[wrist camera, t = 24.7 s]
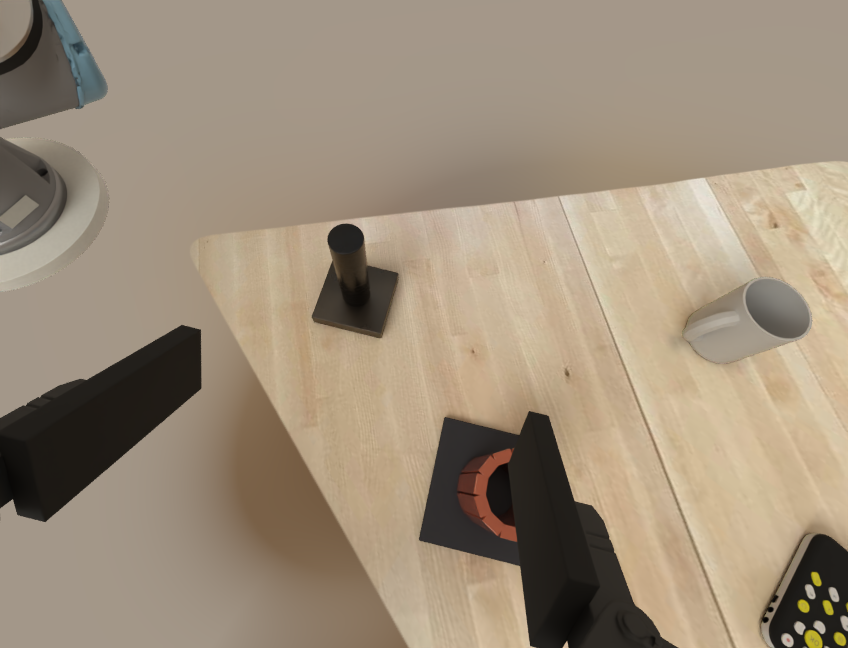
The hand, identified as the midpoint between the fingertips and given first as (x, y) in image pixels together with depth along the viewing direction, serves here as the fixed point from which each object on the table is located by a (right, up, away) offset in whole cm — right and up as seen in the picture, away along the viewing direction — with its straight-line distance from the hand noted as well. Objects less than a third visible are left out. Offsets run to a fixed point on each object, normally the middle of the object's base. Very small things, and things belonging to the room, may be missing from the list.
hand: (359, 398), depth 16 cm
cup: (+37, +1, +33) cm, 50 cm away
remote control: (+40, -25, +24) cm, 53 cm away
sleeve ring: (+9, -14, +25) cm, 30 cm away
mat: (+9, -14, +25) cm, 30 cm away
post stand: (-5, +6, +32) cm, 33 cm away
